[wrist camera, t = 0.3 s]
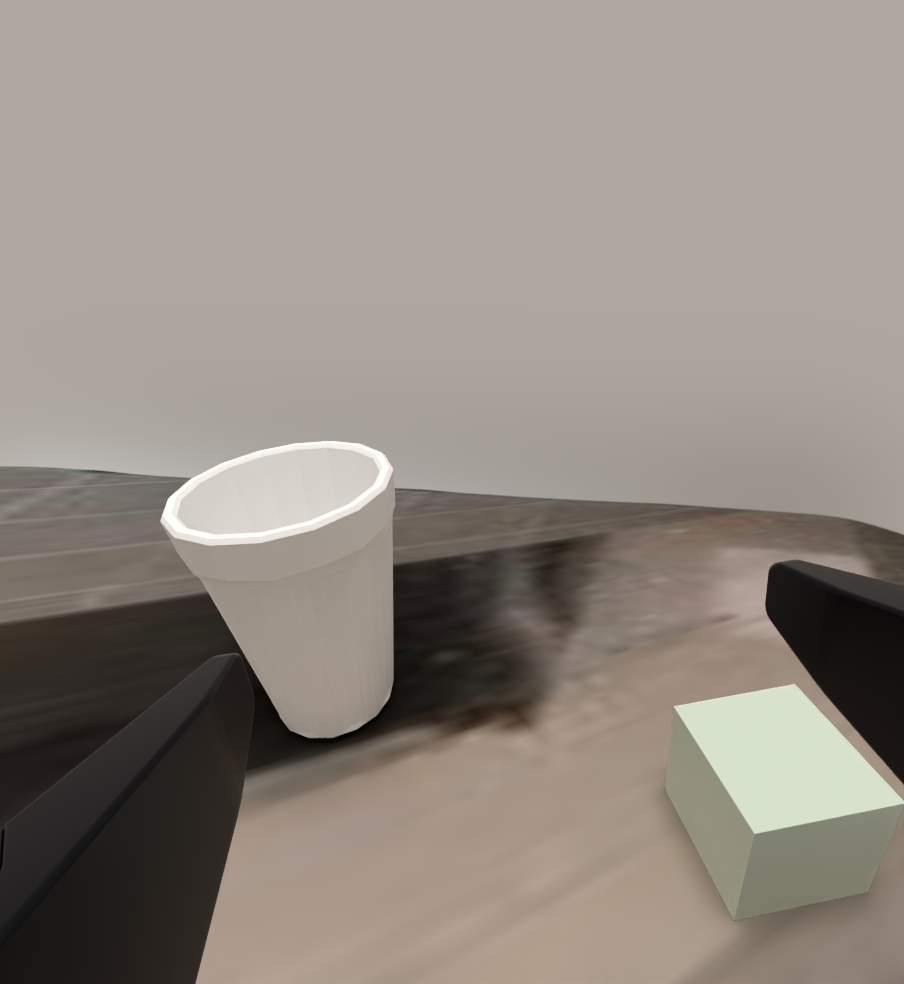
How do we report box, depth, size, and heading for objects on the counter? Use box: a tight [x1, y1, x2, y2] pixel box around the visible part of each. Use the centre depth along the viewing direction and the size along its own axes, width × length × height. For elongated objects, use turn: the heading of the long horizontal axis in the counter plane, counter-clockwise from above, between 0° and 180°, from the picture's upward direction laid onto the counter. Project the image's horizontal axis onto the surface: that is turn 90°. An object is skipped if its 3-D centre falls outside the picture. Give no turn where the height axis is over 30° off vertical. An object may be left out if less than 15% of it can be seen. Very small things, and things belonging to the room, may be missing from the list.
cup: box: [160, 441, 395, 738], centre depth 27 cm, size 10×10×13 cm
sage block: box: [665, 684, 904, 921], centre depth 20 cm, size 5×5×5 cm
